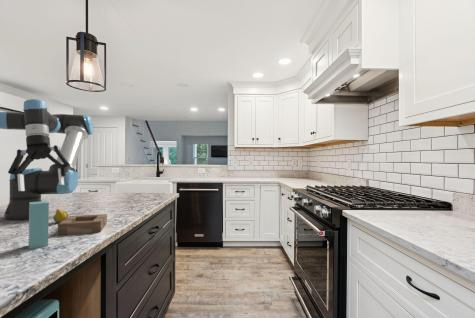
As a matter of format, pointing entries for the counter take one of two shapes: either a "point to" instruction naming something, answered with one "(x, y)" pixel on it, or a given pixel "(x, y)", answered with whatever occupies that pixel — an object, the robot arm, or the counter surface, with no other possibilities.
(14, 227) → the counter surface
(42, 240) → the teal peg
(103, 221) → the block
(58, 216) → the yellow grooved cone
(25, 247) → the counter surface
